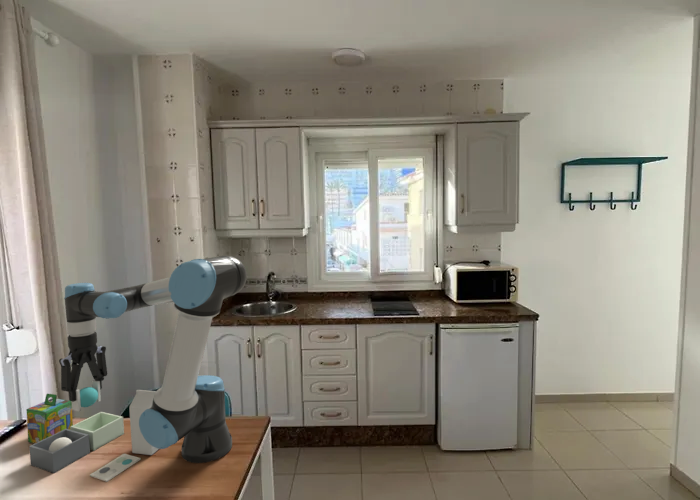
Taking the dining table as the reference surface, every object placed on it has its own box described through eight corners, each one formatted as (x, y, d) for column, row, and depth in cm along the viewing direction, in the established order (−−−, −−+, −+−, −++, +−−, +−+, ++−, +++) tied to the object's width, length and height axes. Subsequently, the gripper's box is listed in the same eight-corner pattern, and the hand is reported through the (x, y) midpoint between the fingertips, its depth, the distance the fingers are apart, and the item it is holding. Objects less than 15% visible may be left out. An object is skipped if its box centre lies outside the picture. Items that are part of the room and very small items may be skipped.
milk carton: (151, 455, 123) (148, 396, 122) (132, 453, 125) (128, 394, 123) (166, 443, 130) (163, 386, 129) (147, 440, 132) (144, 385, 130)
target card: (140, 459, 121) (140, 457, 121) (106, 481, 111) (106, 479, 111) (124, 454, 124) (124, 453, 124) (89, 476, 114) (89, 474, 114)
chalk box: (27, 443, 132) (23, 399, 131) (55, 428, 140) (52, 388, 139) (47, 447, 129) (44, 403, 128) (74, 432, 138) (71, 391, 137)
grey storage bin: (90, 453, 125) (88, 434, 125) (54, 473, 115) (52, 453, 115) (67, 446, 129) (66, 428, 129) (30, 465, 119) (29, 446, 119)
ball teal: (103, 403, 127) (101, 385, 126) (85, 412, 121) (83, 393, 121) (89, 400, 129) (88, 382, 128) (71, 409, 123) (69, 390, 123)
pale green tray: (124, 433, 136) (123, 416, 136) (94, 450, 126) (92, 432, 126) (102, 428, 140) (101, 411, 140) (71, 444, 130) (70, 426, 130)
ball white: (77, 454, 124) (76, 435, 124) (57, 464, 118) (56, 445, 118) (64, 450, 126) (64, 432, 126) (44, 460, 121) (43, 441, 120)
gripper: (101, 324, 133) (105, 391, 135) (41, 341, 115) (47, 417, 117) (118, 326, 131) (122, 394, 133) (59, 343, 113) (65, 421, 115)
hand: (86, 405), depth 125 cm, fingers closed on ball teal, 6 cm apart
